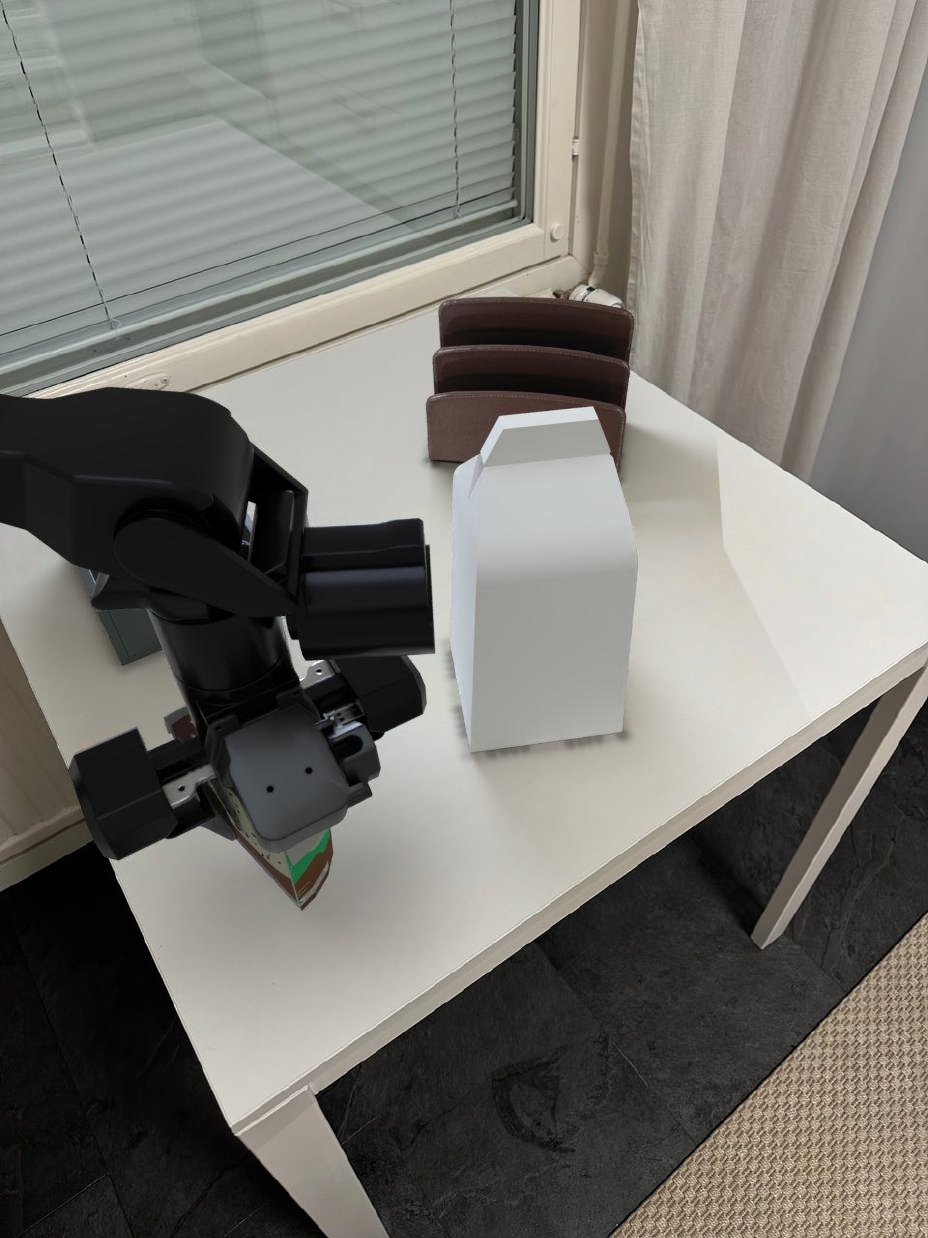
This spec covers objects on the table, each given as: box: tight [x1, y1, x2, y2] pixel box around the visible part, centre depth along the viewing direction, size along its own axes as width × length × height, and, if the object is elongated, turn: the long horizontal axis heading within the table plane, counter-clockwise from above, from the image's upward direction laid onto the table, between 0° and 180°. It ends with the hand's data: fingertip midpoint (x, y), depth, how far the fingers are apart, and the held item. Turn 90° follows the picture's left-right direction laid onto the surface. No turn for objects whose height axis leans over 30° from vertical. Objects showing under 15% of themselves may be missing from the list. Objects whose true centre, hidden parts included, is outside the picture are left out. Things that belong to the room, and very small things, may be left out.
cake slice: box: [162, 704, 334, 912], centre depth 54 cm, size 12×6×10 cm, turn 45°
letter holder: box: [425, 296, 635, 475], centre depth 90 cm, size 10×20×14 cm, turn 82°
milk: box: [449, 406, 639, 754], centre depth 63 cm, size 12×12×26 cm
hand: (280, 810), depth 55 cm, fingers closed on cake slice, 6 cm apart
